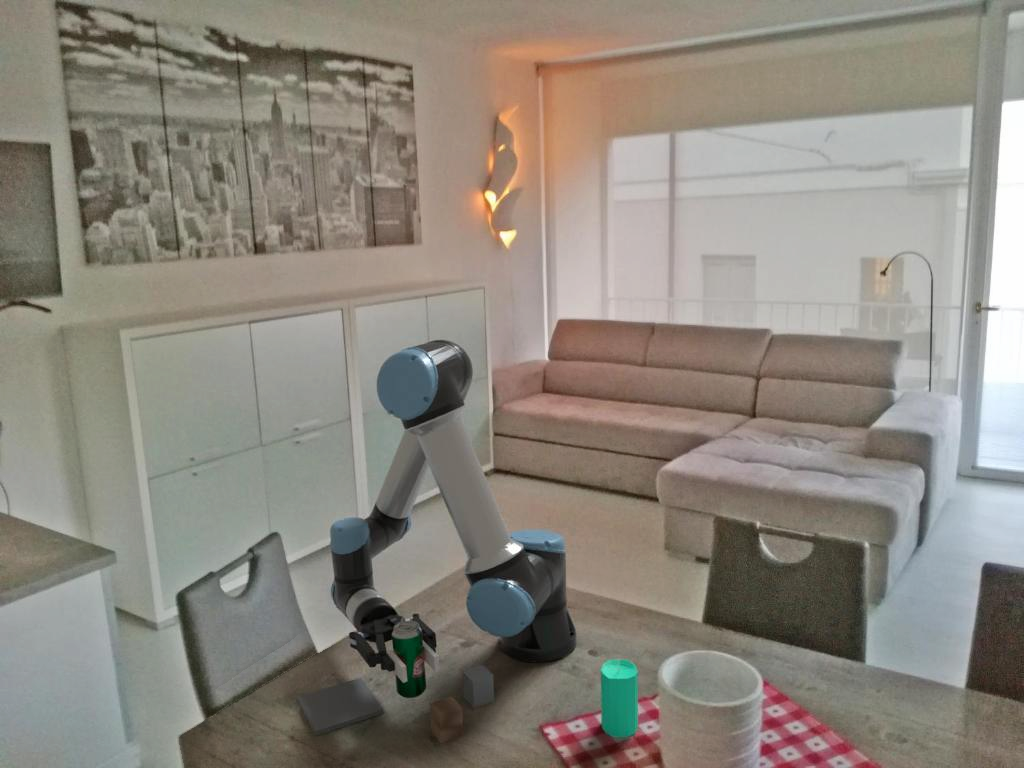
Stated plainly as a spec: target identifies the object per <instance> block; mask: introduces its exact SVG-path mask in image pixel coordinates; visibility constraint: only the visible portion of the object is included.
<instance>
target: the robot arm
mask: <svg viewBox="0 0 1024 768" xmlns="http://www.w3.org/2000/svg"><path fill="white" fill-rule="evenodd" d="M473 370H474V369H473V364H472V360H471V358H470V355H468V353H467V351H466V350H465V349H464V348H463V347H462V346H460V345H459V344H458V343H455V342H454V341H451V340H446V339H435V340H434V339H433V340H432V341H428V342H426V343H421V344H418V345H414V346H410V347H409V346H408V347H407V348H403V349H401V350H400V351H398V352H396V353H394V354H392V355H390V356H389V357H388V358H386V360H385V361H384V362H383V364H382V365H381V367H380V369H379V371H378V374H377V378H376V393H377V398H378V400H379V402H380V404H381V406H382V407H383V409H384V410H385V411H386V412H387V414H389V415H393V417H395V418H396V419H400V421H401V424H402V425H403V428H404V431H403V434H402V436H401V439H400V441H399V443H398V446H397V448H396V451H395V454H394V456H393V459H392V462H391V464H390V466H389V468H388V471H387V473H386V476H385V478H384V481H383V484H382V486H381V488H380V491H379V494H378V496H377V498H376V501H375V504H374V505H373V507H372V511H371V513H370V515H369V516H367V517H366V518H361V517H347V518H343V519H339V520H337V521H335V522H334V523H333V524H332V525H331V526H330V530H329V534H330V535H329V536H330V541H329V544H330V545H329V548H330V550H331V561H332V568H333V575H334V576H333V577H334V578H333V579H334V580H333V581H332V583H331V587H330V598H331V599H332V601H333V604H334V605H335V607H336V608H337V609H338V610H339V611H340V612H341V614H343V616H344V617H345V618H346V619H347V620H348V621H349V623H350V624H351V625H352V626H353V627H354V629H355V630H356V631H357V632H356V631H350V632H349V633H348V635H349V636H348V637H349V646H350V648H352V649H354V650H356V651H357V653H359V655H360V657H362V659H363V660H364V661H365V663H366V664H367V665H368V667H369V668H375V667H377V665H380V669H381V670H382V671H387V672H389V673H390V672H393V673H394V675H395V674H396V675H397V676H398V677H399V678H400V680H401V681H402V682H403V683H404V682H407V671H406V665H405V664H404V663H403V662H402V661H401V660H400V659H399V658H398V656H397V655H396V654H395V653H394V652H393V649H390V650H387V645H386V643H388V642H389V641H392V632H393V628H394V626H395V625H396V624H397V623H399V622H402V621H415V622H417V623H418V624H419V627H420V628H421V630H422V639H423V651H424V663H426V664H427V666H429V667H430V668H431V669H432V670H433V671H434V673H437V672H439V671H440V662H439V655H438V653H437V652H436V651H437V650H436V648H438V647H437V646H438V645H437V635H436V632H435V631H434V630H432V628H431V627H429V625H427V624H426V623H425V622H424V621H423V620H422V619H421V618H420V614H419V613H413V614H412V617H410V618H405V617H404V616H402V615H399V614H398V612H397V611H396V609H395V608H394V607H393V606H392V604H391V603H389V601H387V599H385V597H383V595H381V593H379V592H378V591H377V589H376V588H375V585H374V576H373V575H374V571H373V559H374V558H375V557H376V556H378V555H380V554H381V553H382V552H383V551H385V550H386V549H388V548H389V547H390V546H392V545H393V544H395V543H397V542H399V541H400V540H401V539H403V538H404V536H406V534H407V533H408V532H409V531H410V529H411V527H412V517H411V512H412V509H413V507H414V504H415V503H416V500H417V498H418V496H419V493H420V491H421V489H422V487H423V484H424V482H425V479H426V477H427V475H428V472H429V470H430V471H431V473H432V476H433V478H434V480H435V482H436V485H437V487H438V490H439V492H440V494H441V498H442V499H443V503H444V504H445V507H446V509H447V511H448V514H449V516H450V518H451V521H452V524H453V526H454V529H455V531H456V534H457V535H458V538H459V540H460V542H461V545H462V547H463V549H464V553H465V554H466V557H467V561H466V562H465V565H464V568H463V572H464V573H465V574H464V575H465V578H466V579H467V582H468V584H469V590H468V592H467V596H466V600H465V604H466V605H465V606H466V610H467V613H468V615H469V618H470V619H471V621H472V622H473V623H474V624H475V625H476V626H477V627H478V628H479V629H481V630H482V631H483V632H485V633H486V632H487V633H488V634H490V635H491V636H495V637H500V646H501V649H502V651H503V652H504V653H505V654H506V655H508V656H509V657H511V658H513V659H515V660H519V661H522V662H523V661H524V662H529V663H530V662H531V663H545V662H552V661H556V660H559V659H562V658H564V657H566V656H568V655H570V654H571V653H573V651H574V650H575V648H577V631H576V627H575V624H574V621H573V619H572V617H571V614H570V612H569V611H570V610H569V608H568V605H567V604H568V603H567V559H566V558H567V555H566V554H567V550H566V544H565V539H564V537H563V536H562V535H561V534H560V533H557V532H554V531H552V530H551V531H550V530H543V529H520V530H515V531H512V532H510V533H509V531H508V528H507V525H506V523H505V520H504V519H503V515H502V514H501V511H500V508H499V506H498V503H497V502H496V498H495V496H494V494H493V491H492V489H491V487H490V485H489V482H488V480H487V477H486V475H485V473H484V470H483V467H482V465H481V463H480V460H479V458H478V456H477V453H476V450H475V449H474V446H473V444H472V441H471V438H470V436H469V434H468V433H469V432H468V431H467V429H466V426H465V423H464V421H463V419H462V416H463V413H464V411H465V409H466V404H465V399H466V397H467V395H468V392H469V390H470V388H471V384H472V382H473V381H472V380H473V375H474V373H473ZM370 643H374V644H375V645H376V649H377V652H376V650H374V648H373V647H372V646H371V645H370Z"/></svg>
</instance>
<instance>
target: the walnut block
mask: <svg viewBox="0 0 1024 768" xmlns="http://www.w3.org/2000/svg"><path fill="white" fill-rule="evenodd" d="M455 699H456V698H454V697H453V696H452V695H450V696H448V697H444V698H441V699H439V700H436V701H433V702H431V703H429V710H430V711H429V712H430V713H429V715H430V729H431V731H432V733H433V734H434V735H435V738H437V739H438V740H439V742H440V743H441V744H442V743H445V742H448V741H451V740H454V739H456V738H459V737H461V736H464V723H463V722H464V721H463V708H462V706H461V705H460V704H459V702H458V701H457V700H455Z"/></svg>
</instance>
